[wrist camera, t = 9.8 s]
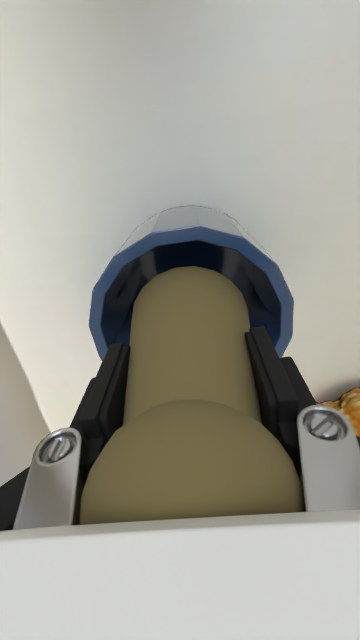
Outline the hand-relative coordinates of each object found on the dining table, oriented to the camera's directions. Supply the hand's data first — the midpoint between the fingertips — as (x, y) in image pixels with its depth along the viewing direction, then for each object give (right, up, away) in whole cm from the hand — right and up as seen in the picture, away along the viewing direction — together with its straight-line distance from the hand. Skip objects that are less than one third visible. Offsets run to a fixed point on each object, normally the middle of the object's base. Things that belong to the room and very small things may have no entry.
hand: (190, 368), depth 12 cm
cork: (0, +2, +4) cm, 4 cm away
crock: (0, +5, +9) cm, 10 cm away
